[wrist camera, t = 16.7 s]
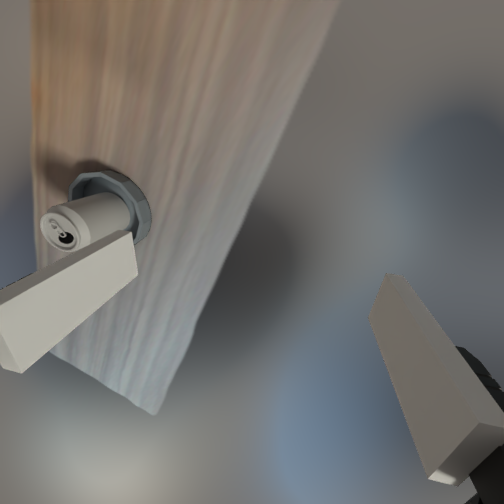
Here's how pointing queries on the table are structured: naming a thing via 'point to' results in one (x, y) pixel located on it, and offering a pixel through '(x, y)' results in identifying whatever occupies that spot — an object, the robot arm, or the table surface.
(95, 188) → the dish
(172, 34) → the table surface
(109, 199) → the can
